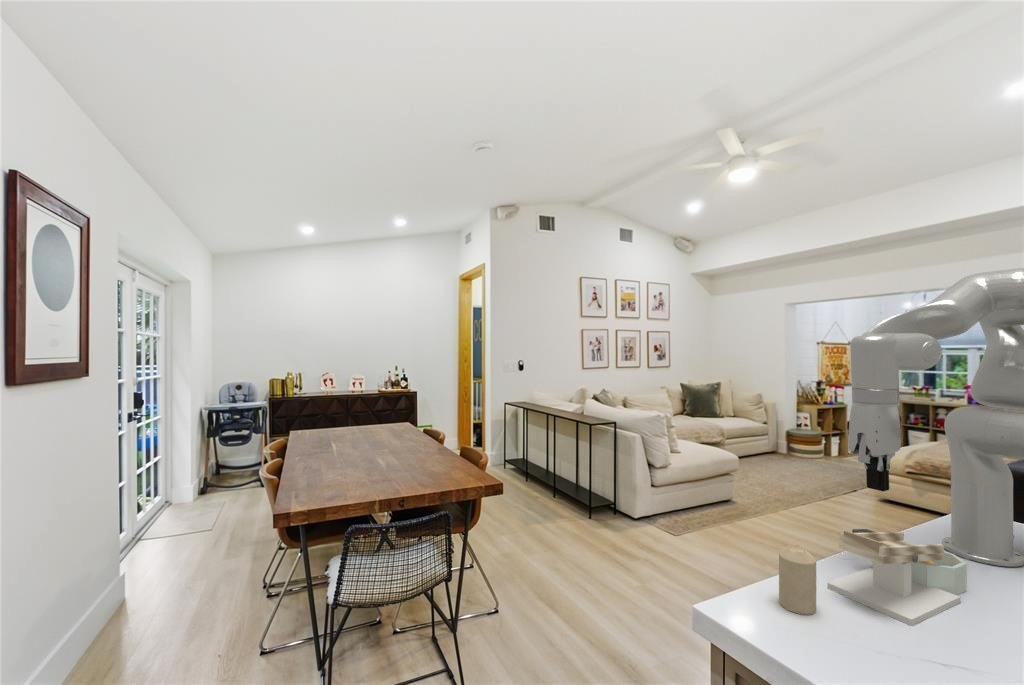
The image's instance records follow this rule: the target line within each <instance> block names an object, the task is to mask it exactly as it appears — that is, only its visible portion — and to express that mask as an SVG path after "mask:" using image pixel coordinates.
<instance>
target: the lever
mask: <svg viewBox="0 0 1024 685" xmlns="http://www.w3.org/2000/svg"><path fill="white" fill-rule="evenodd" d="M904 536H905V532H902V531H887V532H886V531H885V532H884V531H883V532H882V531H881V532H880V531H879V532H877V531H874V530H870V529H867V528H857V529H852V531H849V530H843V532H840V533H839V537H838V538H839V539H838V540H839V541H838V549H839V550H843V551H845V552H848V553H851V554H853V555H856V556H859V557H862V558H865V559H868V560H870V561H871V562H873V561H875V562H878V563H881V564H891V563H905V562H914V563H917V562H919V561H933V560H943V555H944V551H945V548H944V545H942V543H934V544H933V543H932V544H916V543H913V542H910V541H906V540H904V538H905V537H904Z"/></svg>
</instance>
